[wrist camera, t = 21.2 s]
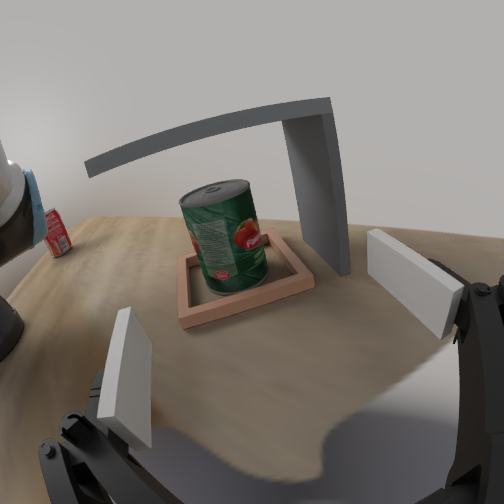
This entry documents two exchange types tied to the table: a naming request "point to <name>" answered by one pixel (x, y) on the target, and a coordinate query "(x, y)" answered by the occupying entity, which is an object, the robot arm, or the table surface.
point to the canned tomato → (226, 236)
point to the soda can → (56, 234)
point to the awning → (301, 160)
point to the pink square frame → (241, 300)
